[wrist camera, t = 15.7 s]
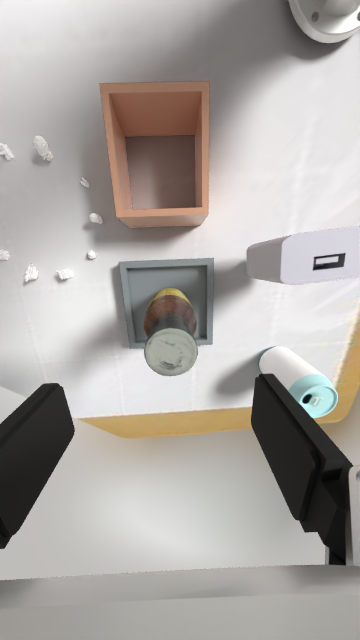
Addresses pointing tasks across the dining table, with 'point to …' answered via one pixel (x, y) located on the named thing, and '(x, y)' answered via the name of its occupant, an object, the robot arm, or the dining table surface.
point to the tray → (159, 274)
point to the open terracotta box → (156, 120)
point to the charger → (307, 257)
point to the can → (300, 380)
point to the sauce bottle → (170, 333)
